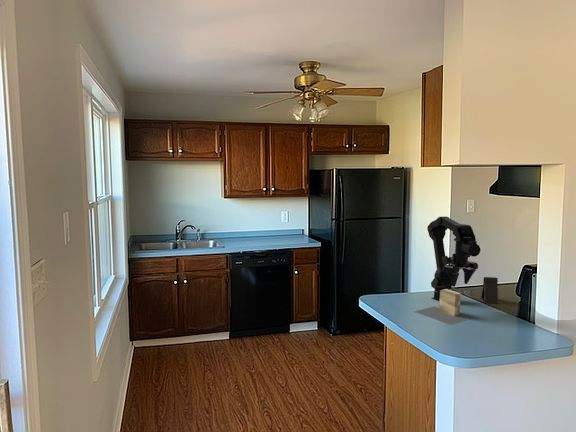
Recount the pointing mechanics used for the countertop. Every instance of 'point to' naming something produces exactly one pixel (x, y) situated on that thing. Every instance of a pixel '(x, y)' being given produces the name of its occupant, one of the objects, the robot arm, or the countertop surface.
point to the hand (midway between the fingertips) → (459, 285)
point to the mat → (442, 315)
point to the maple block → (449, 302)
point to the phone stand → (490, 290)
